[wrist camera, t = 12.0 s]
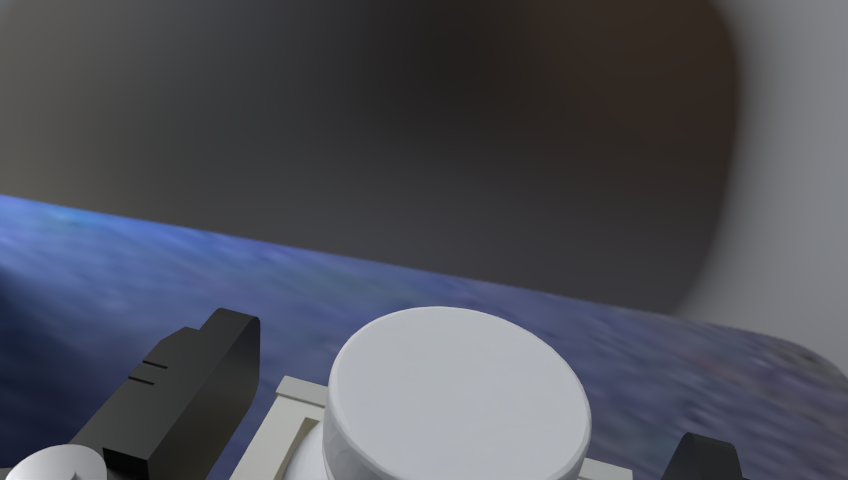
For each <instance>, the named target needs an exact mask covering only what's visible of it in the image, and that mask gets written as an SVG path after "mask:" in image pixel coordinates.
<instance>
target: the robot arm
mask: <svg viewBox="0 0 848 480" xmlns="http://www.w3.org/2000/svg"><path fill="white" fill-rule="evenodd" d="M259 364H260V320H259V318H258V317H255V316H251V315H247V314H244V313H240V312H236V311H232V310H228V309H225V308H219V309H217V310H216V311H215V312H214V313H213V314H212V315H211V316H210V318H209V319H208V320H207V321H206V322H205V324H204V325H203V326H202V327H201V328H200V330H196V329H193V328H189V327H184V328H182V329H180V330H179V331H177V332H175V333H173V334H171V335H170V336H168V337H166V338H164V339H162V340H161V341H160V342H159V343H158V344H157V345H156V346H155V347H154V348H153V349H152V351H151V352H150V353H149V354H148V355H147V356H146V357H145V358H144V360H143V363H142V364H139V365H138V366H137V367H136V368H135V370H134V371H133V372H132V373H131V374H130V375H129V378H128V380H125V381H124V382H123V383H122V384H121V385H120V386H119V388H118V389H117V390H116V391H115V392H114V393H113V394H112V395H111V396H110V398H109V399H108V400H107V401H106V402H105V403H104V404H103V405H102V407H101V408H100V409H99V410H98V411H97V412H96V413H95V414H94V416H93V417H92V418H91V419H90V420H89V421H88V422H87V423H86V424H85V426H84V427H83V428H82V429H81V430H80V431H79V432H78V433H77V435H76V436H75V437H74V438H73V439H72V440H71V441H70V442H69V443H68V444H67V445H58V446H53V447H49V448H46V449H43V450H41V451H38V452H36V453H34V454H32V455H30V456H29V457H27V458H26V459H24V460H23V461H21V462H20V463H19V464H18V465H17V466H15V467H14V468H0V480H205V478H206V477H207V475H208V473H209V472H210V470H211V469H212V467H213V465H214V464H215V462H216V461H217V459H218V457H219V456H220V454H221V452H222V451H223V449H224V448H225V446H226V444H227V443H228V441H229V440H230V438H231V436H232V435H233V433H234V432H235V430H236V428H237V427H238V425H239V424H240V422H241V420H242V419H243V417H244V416H245V414H246V412H247V411H248V409H249V407H250V405H251V403H252V401H253V399H254V396H255V393H256V390H257V386H258V381H259ZM661 480H749V479H746V478H743V476H742V472H741V468H740V464H739V460H738V456H737V452H736V449H735V447H734V446H733V444H731V443H728V442H724V441H720V440H716V439H713V438H709V437H705V436H701V435H697V434H694V433H690V432H688V433H686V434H685V435H684V436H683V437H682V439H681V441H680V443H679V445H678V447H677V449H676V451H675V453H674V455H673V457H672V459H671V461H670V463H669V465H668V467H667V469H666V471H665V473H664V475H663V477H662V479H661Z"/></svg>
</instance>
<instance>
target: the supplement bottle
mask: <svg viewBox="0 0 848 480" xmlns="http://www.w3.org/2000/svg"><path fill="white" fill-rule="evenodd" d="M591 426H592V422H591V411H590V406H589V402H588V399H587V396H586V394H585V391H584V389H583V386H582V384H581V383H580V381H579V379H578V378H577V376H576V374H575V373H574V372H573V370H572V369H571V368H570V366H569V365H568V364H567V363H566V362H565V361H564V360H563V359H562V358H561V357H560V356H559V355H558V354H557V353H556V352H555V351H554V350H553V349H552V348H551V347H550V346H549V345H547V344H546V343H544V342H543V341H542V340H540V339H539V338H538V337H536V336H535V335H533V334H532V333H530V332H528V331H526V330H525V329H523V328H521V327H519V326H517V325H515V324H513V323H510V322H508V321H506V320H504V319H501V318H498V317H495V316H492V315H489V314H486V313H482V312H478V311H473V310H468V309H462V308H452V307H420V308H412V309H407V310H401V311H398V312H394V313H391V314H388V315H386V316H383V317H380V318H378V319H376V320H374V321H372V322H370V323H369V324H367V325H365V326H364V327H363V328H361V329H360V330H359V331H358V332H356V333H355V334H354V335H353V336H352V337H351V338H350V339H349V340H348V341H347V342H346V344H345V345H344V346H343V348H342V349H341V351H340V352H339V354H338V356H337V357H336V359H335V362H334V364H333V367H332V370H331V374H330V378H329V384H328V392H327V399H326V405H325V412H324V419H322V420H321V421H320V422H319V423H318V424H317V425H316V426H314V427H313V428H312V429H311V430H310V431H309V432H308V434H307V435H306V436H305V437H304V438H303V440H302V441H301V442H300V444H299V445H298V447H297V448H296V450H295V451H294V453H293V454H292V456H291V458H290V460H289V462H288V464H287V466H286V469H285V471H284V473H283V476H282V479H281V480H577V478H578V476H579V473H580V470H581V468H582V465H583V462H584V459H585V456H586V453H587V450H588V447H589V443H590V438H591Z"/></svg>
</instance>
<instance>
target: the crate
mask: <svg viewBox="0 0 848 480" xmlns="http://www.w3.org/2000/svg"><path fill="white" fill-rule="evenodd" d="M327 392H328V387H325V386H322V385H318V384H314V383H311V382H307V381H303V380H300V379H296V378H292V377H289V376H285V377H284V378H283V380H282V382H281V383H280V385H279V387H278V388H277V390H276V392H275V402H274V404H273V406H272V407H271V409H270V411H269V413H268V414H267V416H266V418H265V419H264V421H263V423H262V425H261V426H260V428H259V430H258V431H257V433H256V435H255V436H254V438H253V440H252V442H251V443H250V445H249V447H248V448H247V450H246V452H245V454H244V455H243V457H242V459H241V460H240V462H239V464H238V466H237V467H236V469H235V471H234V472H233V474H232V476H231V477H230V479H229V480H281V479H282V476H283V473H284V471H285V469H286V466H287V464H288V462H289V460H290V458H291V456H292V454H293V453H294V451H295V450H296V448H297V447H298V445H299V444H300V442H301V441H302V440H303V438H304V437H305V436H306V435H307V434H308V432H309V431H310V430H311V429H312V428H313V427H314V426H316V425H317V424H318V423H319V422H320V421H321V420H322V419H324V412H325V405H326V399H327ZM577 480H632V470H628V469H625V468H621V467H617V466H614V465H610V464H606V463H603V462H599V461H596V460H592V459H588V458H585V459H584V462H583V465H582V468H581V470H580V473H579V476H578V478H577Z"/></svg>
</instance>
